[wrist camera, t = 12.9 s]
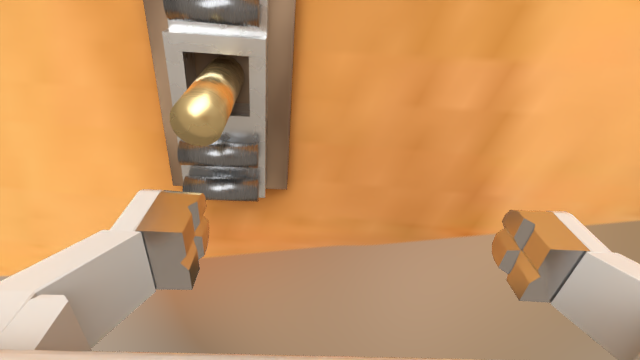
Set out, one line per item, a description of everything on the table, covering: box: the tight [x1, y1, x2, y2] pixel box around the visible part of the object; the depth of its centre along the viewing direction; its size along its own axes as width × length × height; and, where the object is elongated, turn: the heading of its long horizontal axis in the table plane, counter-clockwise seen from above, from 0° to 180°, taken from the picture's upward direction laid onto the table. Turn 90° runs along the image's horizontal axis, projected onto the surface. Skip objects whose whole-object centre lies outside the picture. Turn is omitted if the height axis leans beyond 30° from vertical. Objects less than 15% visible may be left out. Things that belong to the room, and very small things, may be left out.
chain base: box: [143, 0, 296, 189], centre depth 29 cm, size 11×22×2 cm, turn 175°
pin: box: [170, 56, 244, 146], centre depth 24 cm, size 3×3×10 cm
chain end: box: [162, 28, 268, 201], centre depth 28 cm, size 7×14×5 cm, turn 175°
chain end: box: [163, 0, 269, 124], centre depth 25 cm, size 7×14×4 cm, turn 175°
